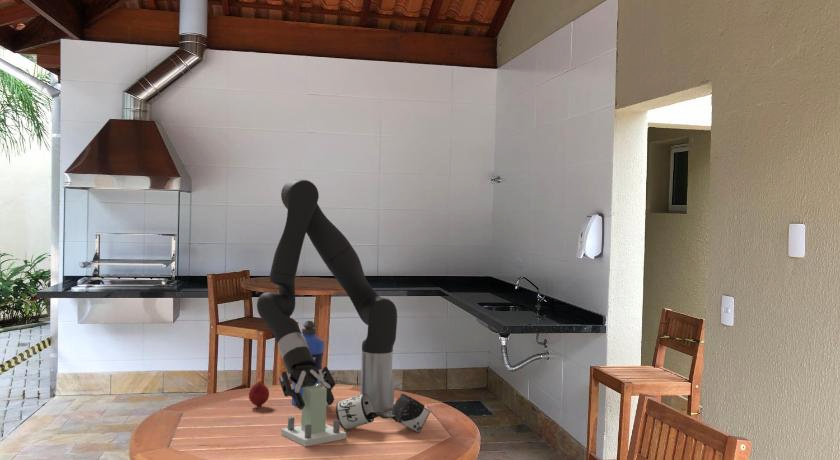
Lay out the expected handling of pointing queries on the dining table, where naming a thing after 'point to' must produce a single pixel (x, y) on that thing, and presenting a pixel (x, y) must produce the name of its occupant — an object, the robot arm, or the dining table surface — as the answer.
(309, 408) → the block
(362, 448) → the dining table surface
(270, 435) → the dining table surface
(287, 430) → the peg stand
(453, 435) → the dining table surface
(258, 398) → the onion
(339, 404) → the lettered night shade jar
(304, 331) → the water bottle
